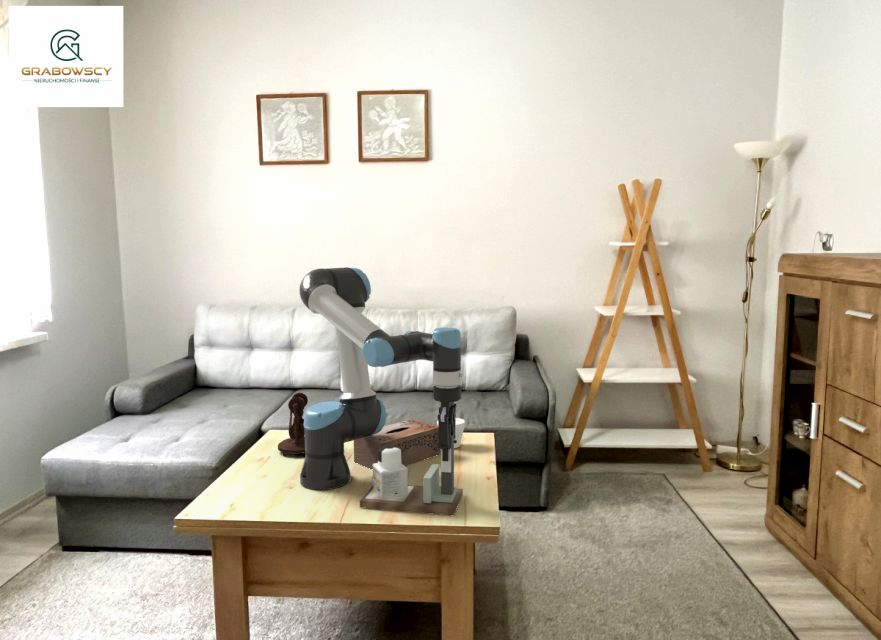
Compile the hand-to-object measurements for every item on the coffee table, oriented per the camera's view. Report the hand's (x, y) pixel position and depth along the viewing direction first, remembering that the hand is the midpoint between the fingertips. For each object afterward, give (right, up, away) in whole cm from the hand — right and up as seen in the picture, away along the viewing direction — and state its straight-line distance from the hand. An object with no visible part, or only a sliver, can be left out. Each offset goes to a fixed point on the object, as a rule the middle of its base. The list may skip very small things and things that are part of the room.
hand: (447, 469), depth 174 cm
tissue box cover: (-16, -6, +39) cm, 43 cm away
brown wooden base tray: (-10, -10, +3) cm, 14 cm away
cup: (+2, -4, +52) cm, 52 cm away
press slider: (-2, -8, +1) cm, 8 cm away
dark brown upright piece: (-51, -5, +48) cm, 70 cm away
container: (-16, -8, +4) cm, 18 cm away
